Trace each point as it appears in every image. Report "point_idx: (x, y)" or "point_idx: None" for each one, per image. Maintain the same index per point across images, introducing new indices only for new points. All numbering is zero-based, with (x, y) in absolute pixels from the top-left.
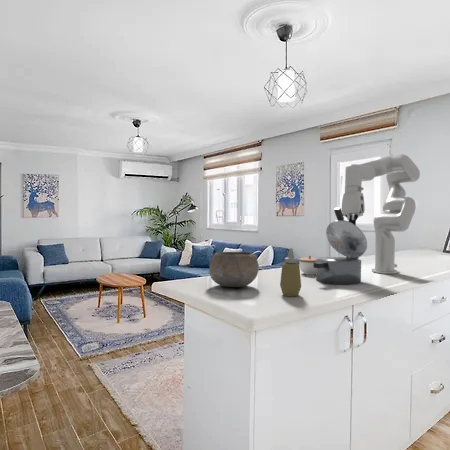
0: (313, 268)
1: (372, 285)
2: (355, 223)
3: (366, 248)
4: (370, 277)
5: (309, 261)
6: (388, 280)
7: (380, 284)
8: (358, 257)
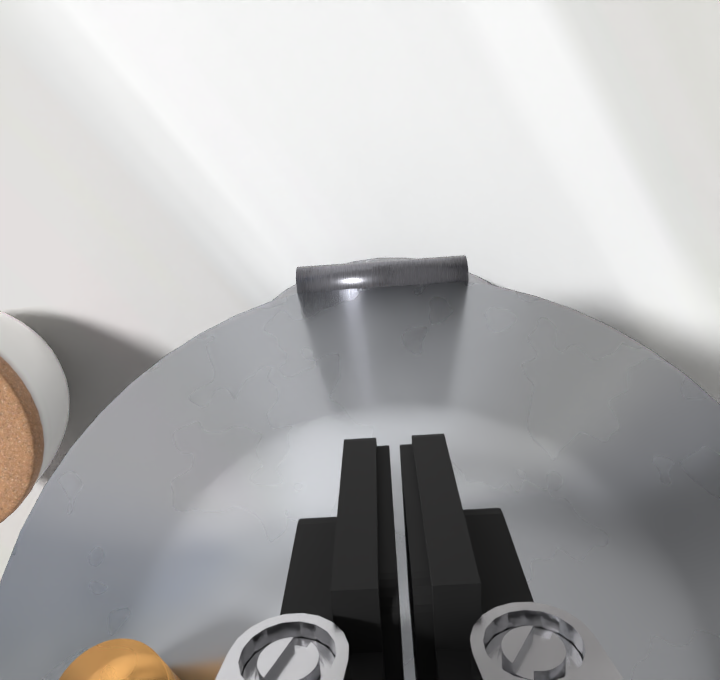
0: (62, 437)
1: (677, 366)
2: (515, 568)
3: (695, 391)
4: (453, 24)
5: (14, 510)
6: (660, 20)
7: (702, 275)
8: (465, 262)
